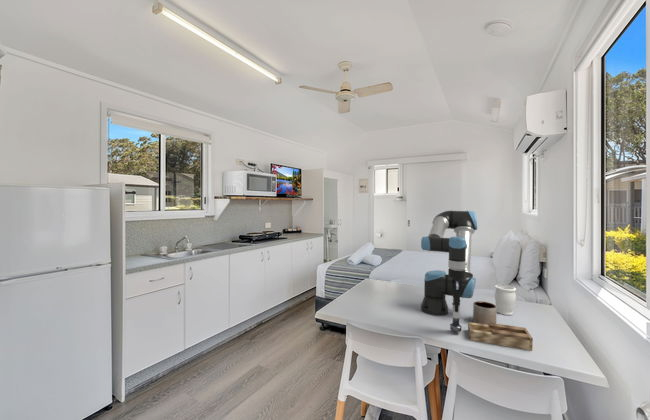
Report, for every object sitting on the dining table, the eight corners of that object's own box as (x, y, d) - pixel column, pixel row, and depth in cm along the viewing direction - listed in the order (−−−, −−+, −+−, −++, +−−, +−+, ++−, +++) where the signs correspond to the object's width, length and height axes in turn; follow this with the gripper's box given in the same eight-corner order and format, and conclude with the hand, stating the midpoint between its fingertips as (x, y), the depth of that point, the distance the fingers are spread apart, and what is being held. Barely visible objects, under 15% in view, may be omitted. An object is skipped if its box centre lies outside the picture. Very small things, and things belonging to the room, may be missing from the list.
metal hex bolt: (450, 330, 138) (450, 298, 137) (449, 326, 142) (450, 295, 142) (461, 332, 136) (462, 299, 135) (460, 328, 140) (461, 296, 140)
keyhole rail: (470, 340, 132) (470, 328, 132) (468, 330, 142) (468, 319, 142) (532, 350, 123) (532, 338, 123) (525, 339, 133) (525, 327, 133)
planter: (496, 328, 144) (496, 310, 144) (472, 323, 150) (472, 305, 149) (496, 321, 153) (496, 303, 153) (473, 316, 159) (474, 299, 159)
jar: (518, 317, 159) (519, 290, 159) (498, 315, 161) (499, 289, 161) (510, 310, 169) (511, 285, 169) (491, 308, 171) (492, 283, 171)
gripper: (466, 273, 129) (465, 324, 130) (464, 265, 144) (463, 311, 145) (448, 272, 132) (448, 321, 133) (447, 264, 147) (447, 309, 148)
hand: (455, 316), depth 139 cm, fingers closed on metal hex bolt, 3 cm apart
